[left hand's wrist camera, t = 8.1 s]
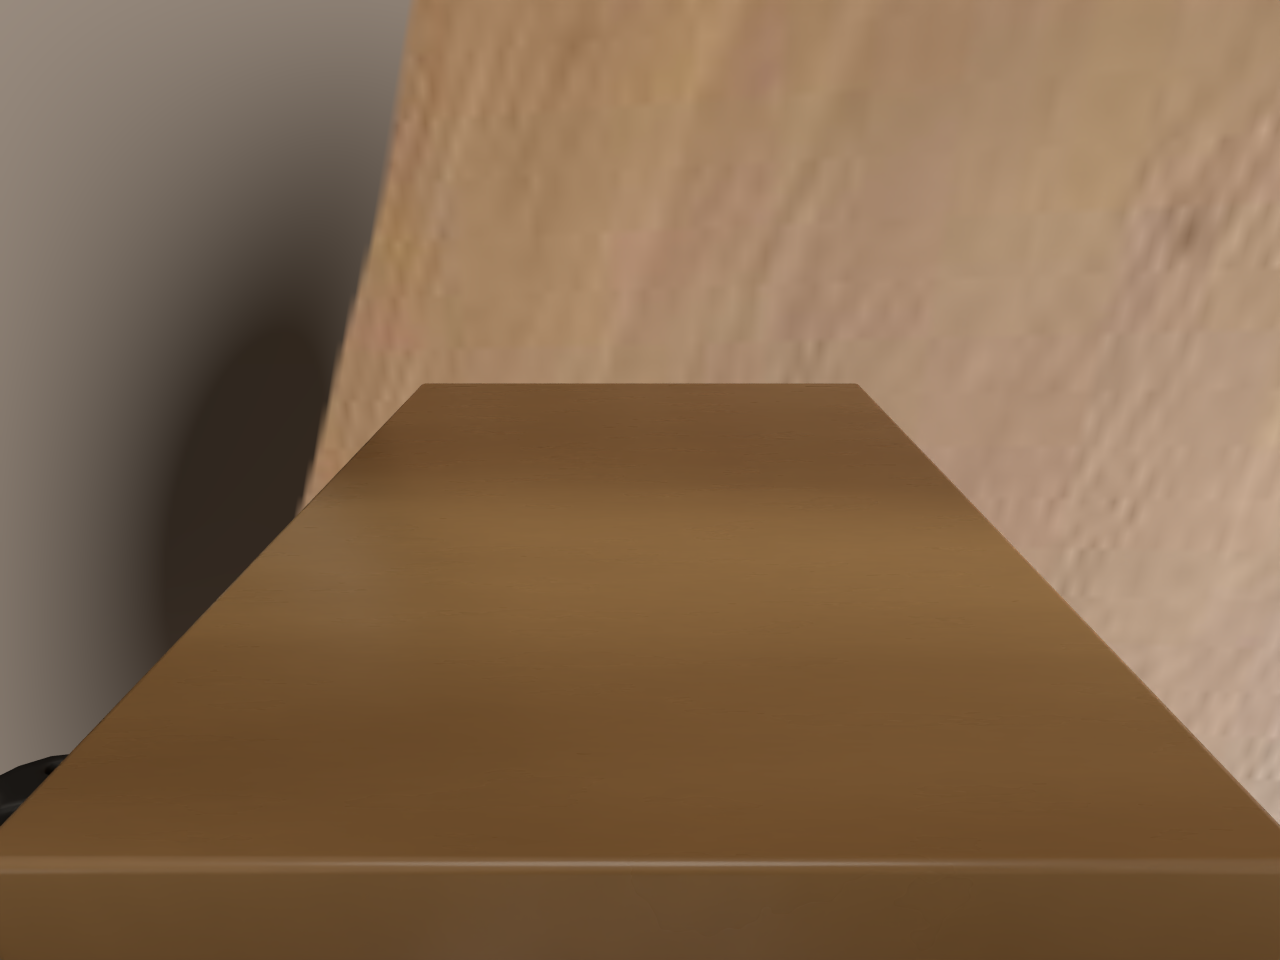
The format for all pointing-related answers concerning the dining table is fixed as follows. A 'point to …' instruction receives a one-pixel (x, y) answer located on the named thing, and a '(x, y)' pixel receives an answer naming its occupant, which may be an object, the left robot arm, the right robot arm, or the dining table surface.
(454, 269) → the dining table surface
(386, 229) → the dining table surface
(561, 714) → the box
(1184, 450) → the dining table surface
